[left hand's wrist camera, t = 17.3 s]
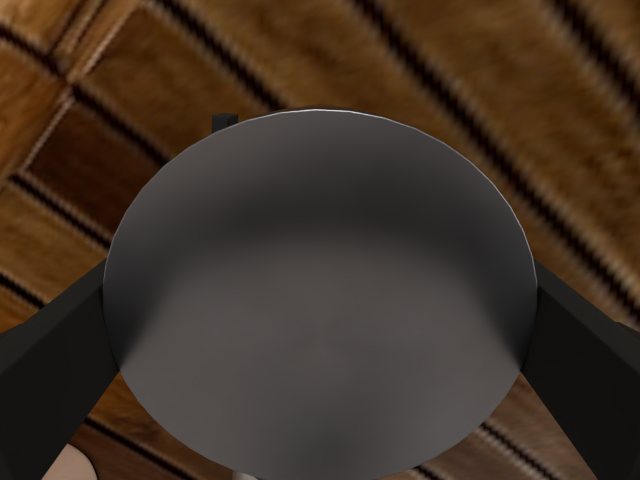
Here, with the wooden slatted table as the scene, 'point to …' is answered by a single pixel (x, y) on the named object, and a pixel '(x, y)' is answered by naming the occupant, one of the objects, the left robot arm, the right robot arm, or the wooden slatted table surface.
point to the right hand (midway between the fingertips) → (330, 129)
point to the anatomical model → (71, 466)
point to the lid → (320, 296)
